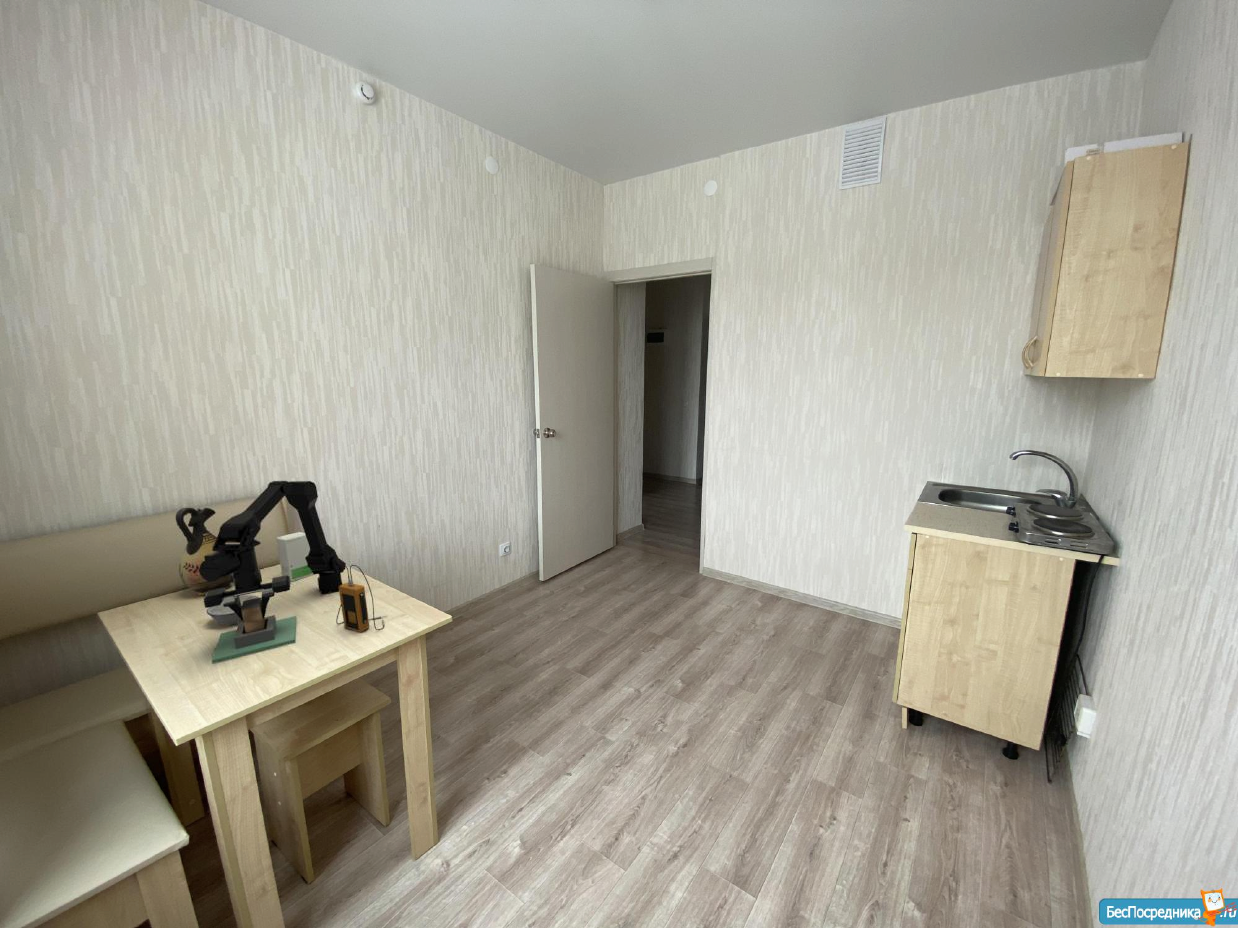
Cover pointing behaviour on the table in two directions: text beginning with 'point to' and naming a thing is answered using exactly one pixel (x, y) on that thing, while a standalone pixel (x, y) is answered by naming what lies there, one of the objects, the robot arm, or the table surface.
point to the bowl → (227, 612)
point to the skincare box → (294, 555)
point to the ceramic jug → (197, 550)
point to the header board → (255, 639)
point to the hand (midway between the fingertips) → (254, 619)
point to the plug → (252, 615)
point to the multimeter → (355, 605)
